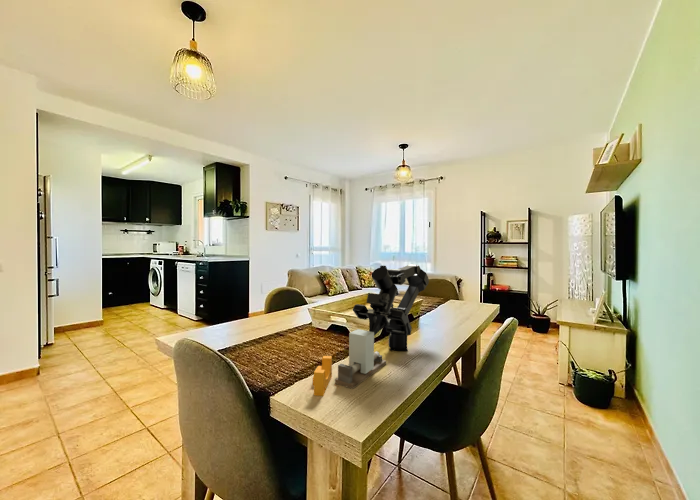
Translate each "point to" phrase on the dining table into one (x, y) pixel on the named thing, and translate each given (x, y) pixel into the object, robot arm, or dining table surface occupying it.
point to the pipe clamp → (322, 376)
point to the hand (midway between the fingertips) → (370, 336)
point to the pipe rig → (357, 372)
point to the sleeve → (361, 349)
